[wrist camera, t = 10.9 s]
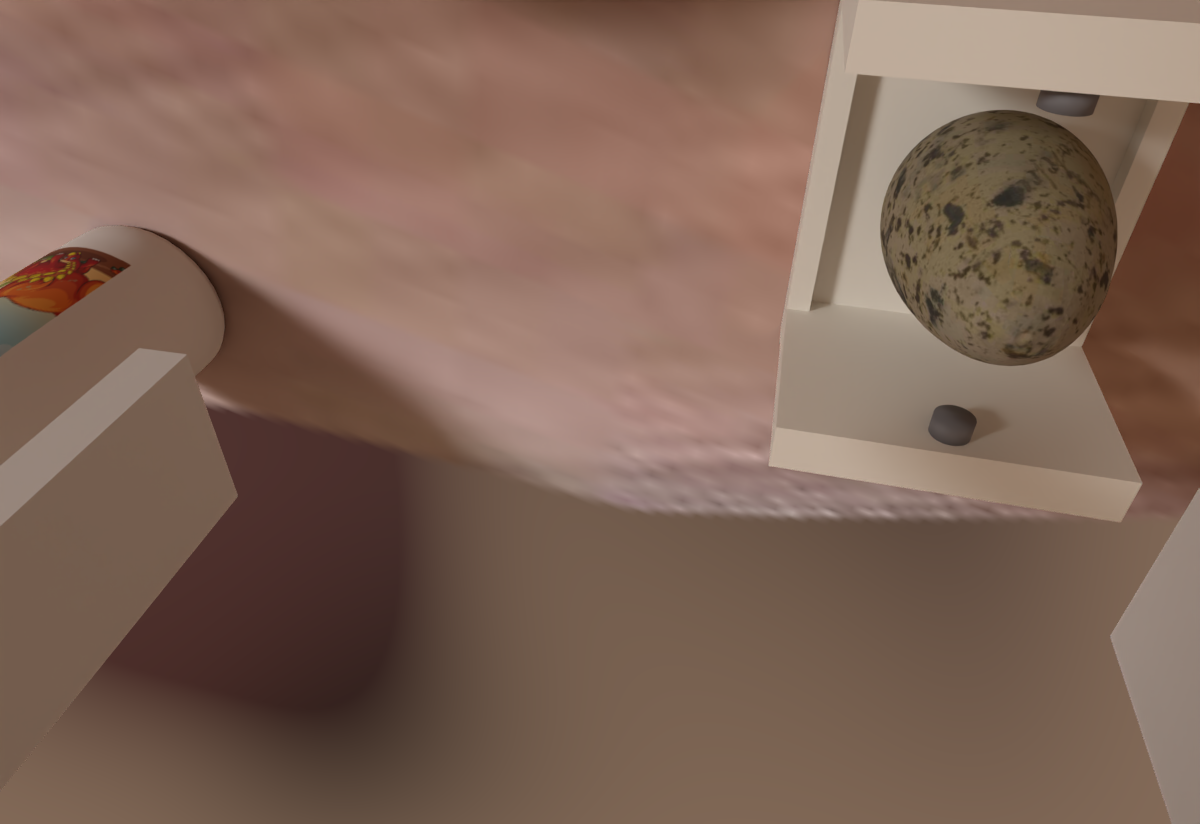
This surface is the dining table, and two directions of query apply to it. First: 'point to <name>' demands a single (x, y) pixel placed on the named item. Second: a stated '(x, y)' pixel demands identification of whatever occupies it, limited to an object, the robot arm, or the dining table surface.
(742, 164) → the dining table surface
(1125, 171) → the holder
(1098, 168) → the decorative egg
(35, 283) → the milk bottle
